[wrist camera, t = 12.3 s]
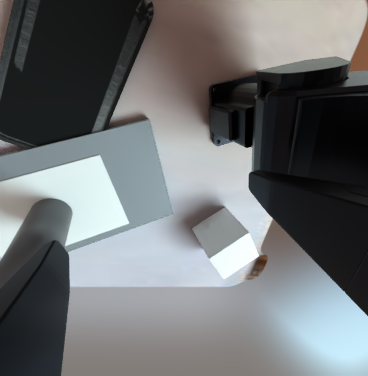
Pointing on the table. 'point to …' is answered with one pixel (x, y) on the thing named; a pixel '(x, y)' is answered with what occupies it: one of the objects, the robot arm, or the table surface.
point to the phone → (66, 66)
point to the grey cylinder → (36, 234)
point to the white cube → (225, 242)
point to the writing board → (87, 183)
